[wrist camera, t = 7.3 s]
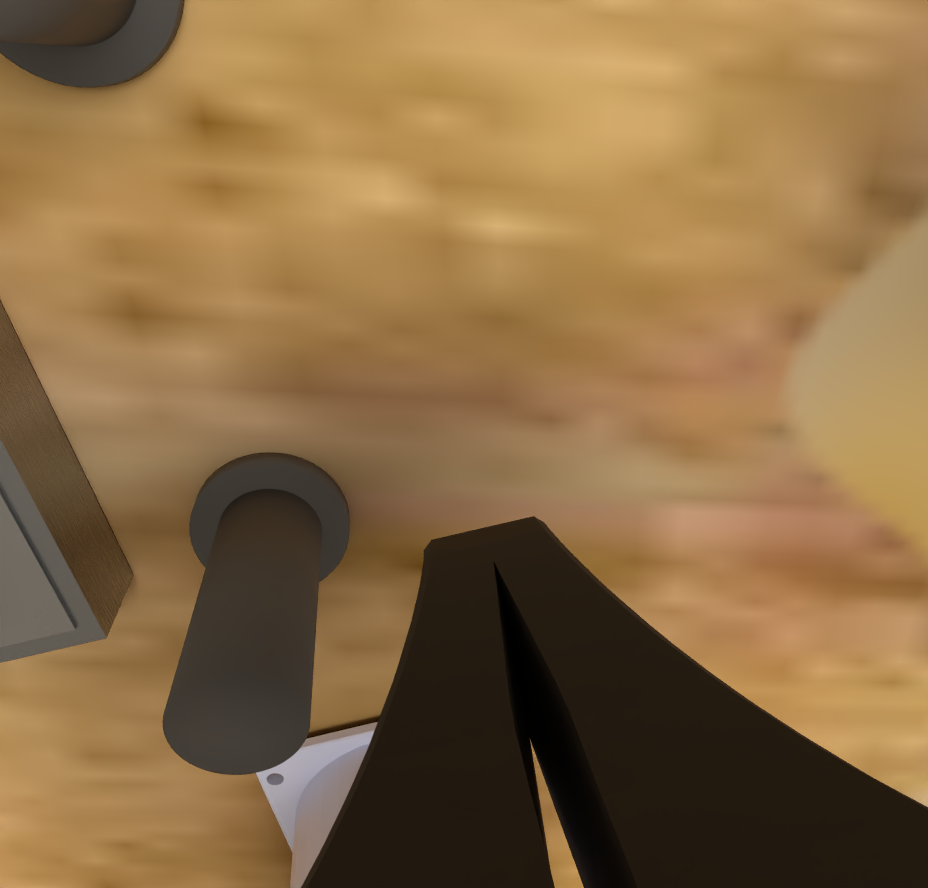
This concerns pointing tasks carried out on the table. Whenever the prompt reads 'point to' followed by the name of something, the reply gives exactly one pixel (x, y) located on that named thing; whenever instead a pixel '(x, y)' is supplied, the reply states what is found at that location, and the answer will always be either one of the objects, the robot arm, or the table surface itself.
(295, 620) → the post
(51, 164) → the table surface
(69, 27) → the cord post
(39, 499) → the panel
